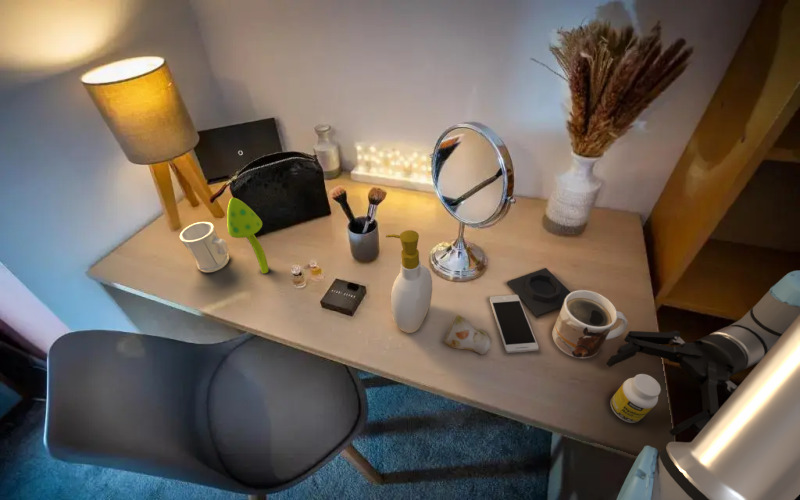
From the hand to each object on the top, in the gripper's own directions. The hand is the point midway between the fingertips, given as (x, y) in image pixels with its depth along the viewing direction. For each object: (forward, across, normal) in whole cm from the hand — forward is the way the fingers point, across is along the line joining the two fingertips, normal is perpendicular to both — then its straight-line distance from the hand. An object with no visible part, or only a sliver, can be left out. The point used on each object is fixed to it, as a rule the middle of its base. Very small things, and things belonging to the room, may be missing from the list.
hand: (639, 393), depth 62 cm
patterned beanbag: (+21, +24, -6) cm, 32 cm away
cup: (+74, +78, -6) cm, 108 cm away
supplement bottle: (0, 0, -6) cm, 6 cm away
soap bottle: (+29, +36, -6) cm, 47 cm away
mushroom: (+62, +68, -6) cm, 92 cm away
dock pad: (-4, +30, -6) cm, 31 cm away
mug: (-3, +15, -6) cm, 16 cm away
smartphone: (+8, +25, -6) cm, 27 cm away
